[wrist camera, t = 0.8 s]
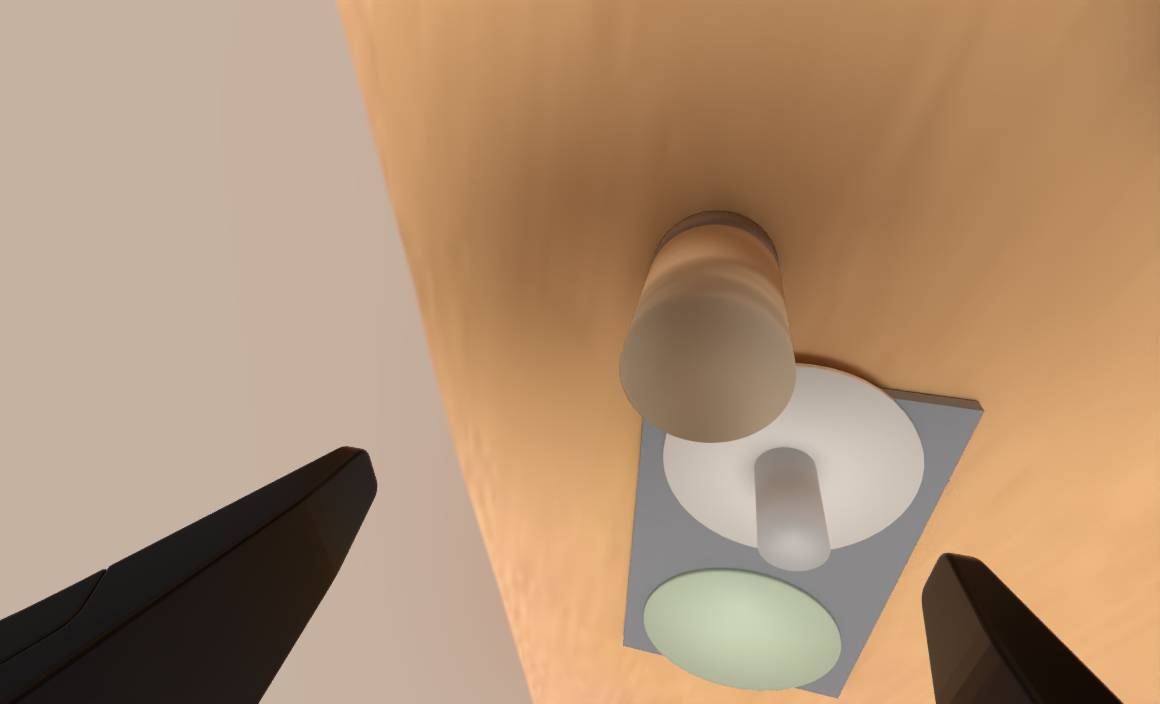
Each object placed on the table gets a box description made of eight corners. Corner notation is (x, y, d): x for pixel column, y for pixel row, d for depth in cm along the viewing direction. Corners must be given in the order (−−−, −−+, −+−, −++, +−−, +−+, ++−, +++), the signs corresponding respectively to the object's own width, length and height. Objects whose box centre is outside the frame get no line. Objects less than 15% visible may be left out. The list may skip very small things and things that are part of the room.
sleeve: (790, 216, 18) (815, 310, 12) (764, 331, 20) (776, 455, 15) (658, 206, 19) (623, 288, 13) (648, 316, 21) (616, 429, 15)
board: (989, 378, 19) (1057, 475, 15) (831, 696, 31) (845, 798, 27) (652, 335, 22) (632, 409, 17) (623, 645, 33) (608, 732, 29)
